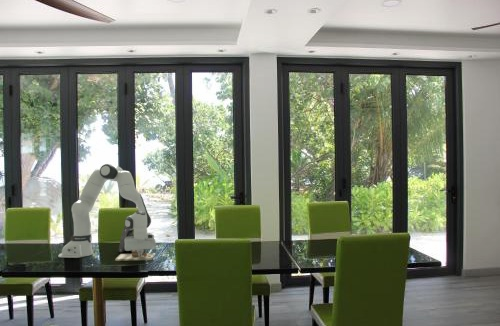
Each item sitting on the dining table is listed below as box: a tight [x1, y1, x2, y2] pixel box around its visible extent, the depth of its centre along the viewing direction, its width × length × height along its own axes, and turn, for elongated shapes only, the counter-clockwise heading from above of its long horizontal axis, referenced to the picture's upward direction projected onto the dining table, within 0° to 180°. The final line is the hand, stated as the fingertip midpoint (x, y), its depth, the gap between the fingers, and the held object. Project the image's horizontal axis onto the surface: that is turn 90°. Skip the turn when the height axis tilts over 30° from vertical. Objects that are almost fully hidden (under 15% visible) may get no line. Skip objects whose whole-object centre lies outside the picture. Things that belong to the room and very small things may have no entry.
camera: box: [118, 226, 134, 254], centre depth 279 cm, size 11×17×20 cm, turn 79°
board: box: [114, 252, 156, 262], centre depth 260 cm, size 24×14×2 cm, turn 95°
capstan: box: [131, 250, 147, 257], centre depth 259 cm, size 13×7×4 cm, turn 54°
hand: (140, 256), depth 255 cm, fingers closed
